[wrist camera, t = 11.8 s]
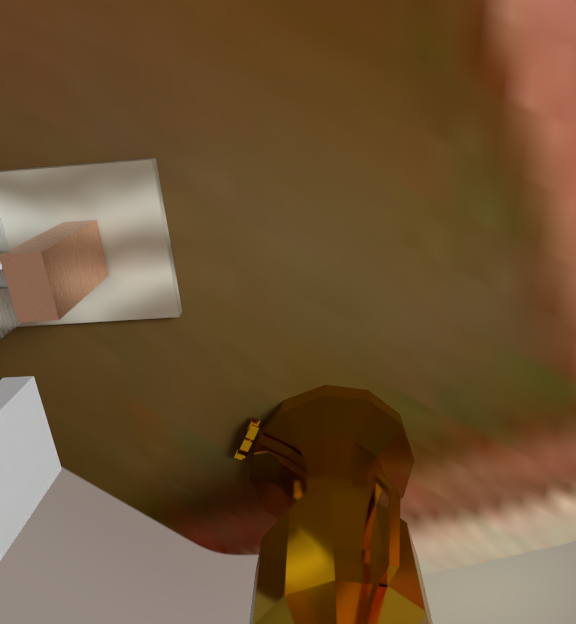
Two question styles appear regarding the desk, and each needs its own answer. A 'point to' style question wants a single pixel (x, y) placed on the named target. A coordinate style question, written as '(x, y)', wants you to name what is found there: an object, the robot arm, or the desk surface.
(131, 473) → the desk surface
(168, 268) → the base board
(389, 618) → the trophy cup
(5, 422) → the robot arm
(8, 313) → the bearing block
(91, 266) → the shaft
